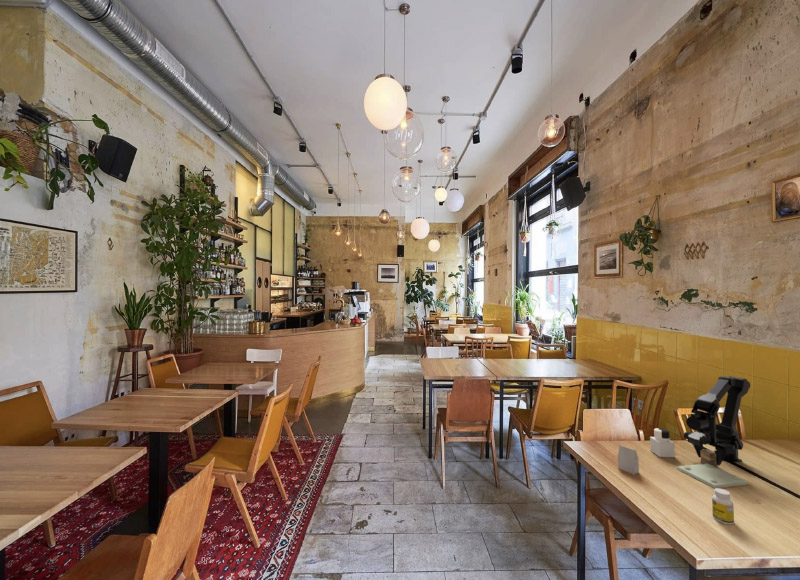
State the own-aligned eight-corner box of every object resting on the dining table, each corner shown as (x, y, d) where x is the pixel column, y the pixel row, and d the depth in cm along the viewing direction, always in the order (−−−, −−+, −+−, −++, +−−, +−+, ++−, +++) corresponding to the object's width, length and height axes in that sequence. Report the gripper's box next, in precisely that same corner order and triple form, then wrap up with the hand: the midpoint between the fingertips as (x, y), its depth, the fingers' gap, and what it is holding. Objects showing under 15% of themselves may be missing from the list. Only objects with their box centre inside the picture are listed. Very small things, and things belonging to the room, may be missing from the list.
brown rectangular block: (708, 462, 161) (707, 449, 161) (717, 466, 157) (716, 453, 157) (700, 463, 160) (700, 450, 160) (709, 467, 156) (709, 453, 156)
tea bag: (634, 474, 150) (633, 451, 150) (618, 468, 156) (617, 445, 156) (638, 472, 152) (638, 449, 152) (622, 466, 158) (622, 444, 158)
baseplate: (707, 466, 157) (707, 462, 157) (748, 484, 141) (748, 480, 141) (677, 469, 154) (677, 465, 154) (715, 488, 139) (715, 483, 139)
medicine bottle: (665, 451, 173) (664, 427, 173) (675, 457, 165) (674, 432, 166) (650, 450, 173) (649, 426, 174) (659, 457, 166) (658, 432, 166)
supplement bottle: (708, 515, 121) (707, 487, 122) (722, 514, 122) (721, 486, 122) (724, 525, 116) (722, 496, 116) (738, 524, 117) (737, 495, 117)
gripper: (673, 421, 167) (674, 453, 166) (714, 436, 148) (715, 472, 148) (693, 419, 168) (694, 451, 168) (735, 434, 150) (737, 470, 150)
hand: (708, 461), depth 158 cm, fingers open, 8 cm apart
